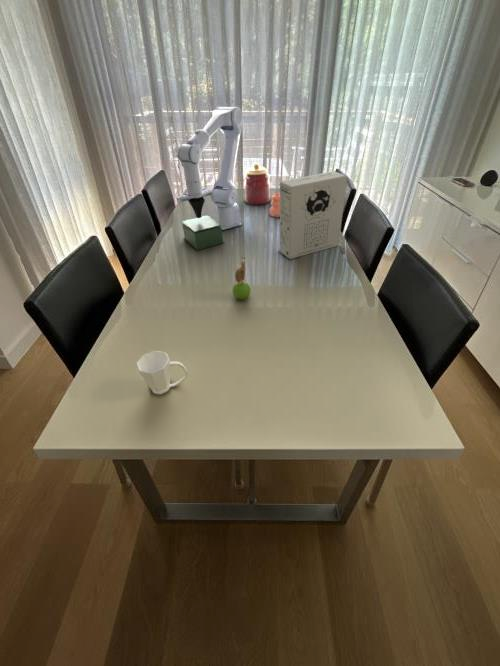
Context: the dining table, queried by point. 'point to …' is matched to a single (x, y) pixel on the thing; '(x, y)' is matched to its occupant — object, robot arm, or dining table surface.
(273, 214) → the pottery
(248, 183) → the kitchen canister
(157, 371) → the cup
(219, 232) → the box
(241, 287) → the figurine on green ball
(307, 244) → the cereal box
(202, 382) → the dining table surface
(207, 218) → the pale green slab
